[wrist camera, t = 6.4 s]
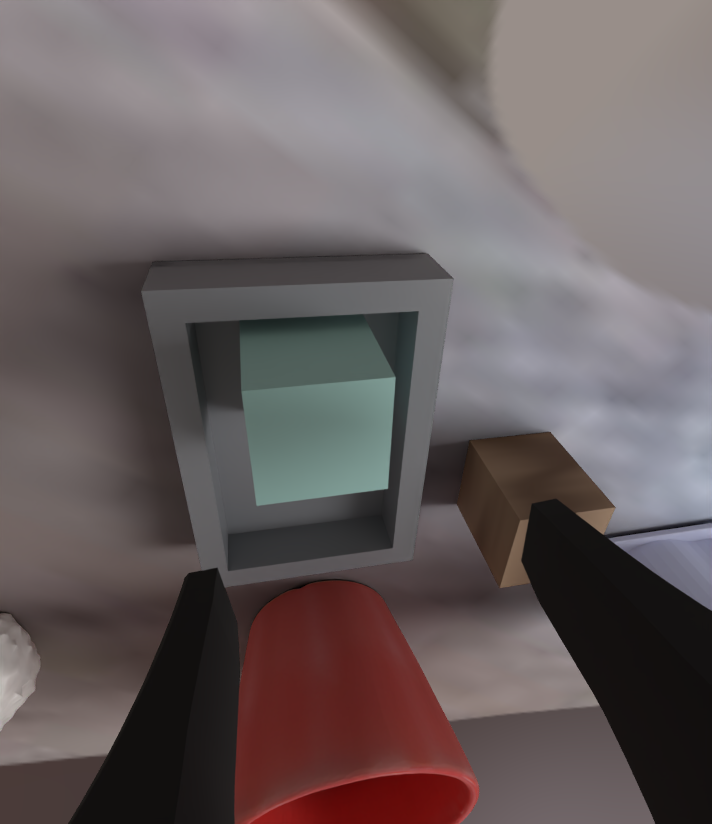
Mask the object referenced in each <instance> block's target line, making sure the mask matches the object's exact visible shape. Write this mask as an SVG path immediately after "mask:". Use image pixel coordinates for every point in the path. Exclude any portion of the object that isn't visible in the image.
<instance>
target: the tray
mask: <svg viewBox="0 0 712 824" xmlns="http://www.w3.org/2000/svg"><path fill="white" fill-rule="evenodd" d="M453 280H454V278H452V277H451V276H450V275H449V274H448V273H447V272H446V271H445V270H444V269H443V268H442V267H441V266H440V265H439V264H438V263H437V262H436V261H435V260H434V259H433V258H432V257H431V256H430V255H429V254H399V255H366V256H332V257H298V258H265V259H231V260H198V261H164V262H152V265H151V267H150V270H149V273H148V275H147V278H146V280H145V283H144V285H143V288H142V290H141V293H142V298H143V302H144V307H145V311H146V316H147V321H148V325H149V330H150V334H151V339H152V344H153V348H154V353H155V358H156V362H157V367H158V371H159V376H160V381H161V385H162V390H163V394H164V399H165V404H166V408H167V413H168V418H169V422H170V427H171V431H172V436H173V441H174V445H175V450H176V454H177V459H178V464H179V468H180V473H181V478H182V482H183V487H184V491H185V496H186V501H187V505H188V510H189V514H190V519H191V524H192V528H193V533H194V538H195V542H196V547H197V551H198V556H199V561H200V565H201V570H202V571H203V570H207V569H212V568H217V567H218V570H219V573H220V576H221V579H222V581H223V584H224V587H232V586H238V585H245V584H252V583H259V582H266V581H273V580H280V579H287V578H294V577H300V576H307V575H314V574H321V573H328V572H335V571H342V570H349V569H356V568H362V567H369V566H376V565H383V564H390V563H397V562H404V561H411V560H413V555H414V548H415V541H416V534H417V527H418V520H419V513H420V507H421V500H422V493H423V486H424V479H425V472H426V465H427V459H428V452H429V445H430V438H431V431H432V424H433V417H434V411H435V404H436V397H437V390H438V383H439V376H440V369H441V363H442V356H443V349H444V342H445V335H446V328H447V321H448V315H449V308H450V301H451V294H452V287H453ZM353 314H363V315H364V317H365V319H366V321H367V323H368V325H369V327H370V329H371V331H372V333H373V335H374V337H375V339H376V340H377V342H378V344H379V346H380V348H381V350H382V352H383V354H384V356H385V358H386V360H387V362H388V363H389V365H390V367H391V369H392V371H393V373H394V375H395V377H396V379H395V394H394V408H393V422H392V437H391V451H390V465H389V479H388V489H382V490H375V491H367V492H359V493H352V494H344V495H336V496H329V497H321V498H313V499H306V500H298V501H290V502H283V503H275V504H267V505H260V506H257V505H256V497H255V490H254V482H253V475H252V467H251V460H250V452H249V445H248V437H247V430H246V422H245V415H244V407H243V400H242V393H241V362H240V327H239V320H256V319H276V318H295V317H314V316H334V315H353Z"/></svg>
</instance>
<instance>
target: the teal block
mask: <svg viewBox="0 0 712 824" xmlns="http://www.w3.org/2000/svg"><path fill="white" fill-rule="evenodd" d="M239 327H240V362H241V393H242V400H243V407H244V415H245V422H246V430H247V437H248V445H249V452H250V460H251V467H252V475H253V482H254V490H255V497H256V505H257V506H260V505H267V504H275V503H283V502H290V501H298V500H306V499H313V498H321V497H329V496H336V495H344V494H352V493H359V492H367V491H375V490H382V489H388V479H389V465H390V451H391V437H392V422H393V408H394V394H395V379H396V377H395V375H394V373H393V371H392V369H391V367H390V365H389V363H388V362H387V360H386V358H385V356H384V354H383V352H382V350H381V348H380V346H379V344H378V342H377V340H376V339H375V337H374V335H373V333H372V331H371V329H370V327H369V325H368V323H367V321H366V319H365V317H364V315H363V314H353V315H334V316H314V317H295V318H276V319H256V320H239Z"/></svg>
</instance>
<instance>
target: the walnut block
mask: <svg viewBox="0 0 712 824" xmlns="http://www.w3.org/2000/svg"><path fill="white" fill-rule="evenodd" d="M551 499H558V500H559V501H560V502H562V503H563V504H564V505H565V506H567V507H568V508H569V509H571V510H572V511H573V512H574V513H576V514H577V515H578V516H580V517H581V518H582V519H584V520H585V521H586V522H587V523H589V524H590V525H591V526H593V527H594V528H595V529H596V530H598V531H599V532H600V533H602V534H603V535H604V532H605V530H606V528H607V526H608V523H609V521H610V519H611V517H612V514H613V512H614V510H615V508H616V507H615V506H614V505H613V504H612V503H611V502H610V500H609V499H608V498H607V497H606V496H605V495H604V493H603V492H602V491H601V490H600V489H599V488H598V487H597V485H596V484H595V483H594V482H593V481H592V480H591V478H590V477H589V476H588V475H587V474H586V473H585V472H584V470H583V469H582V468H581V467H580V466H579V465H578V463H577V462H576V461H575V460H574V459H573V458H572V457H571V455H570V454H569V453H568V452H567V451H566V450H565V448H564V447H563V446H562V445H561V444H560V443H559V442H558V440H557V439H556V438H555V437H554V436H553V435H552V434H551V432H545V433H536V434H526V435H516V436H507V437H497V438H487V439H478V440H470V441H469V446H468V451H467V456H466V461H465V466H464V471H463V476H462V481H461V486H460V491H459V496H458V501H457V506H458V508H459V510H460V512H461V514H462V515H463V517H464V519H465V521H466V523H467V525H468V527H469V529H470V531H471V533H472V535H473V537H474V539H475V541H476V543H477V545H478V547H479V549H480V551H481V553H482V555H483V557H484V559H485V560H486V562H487V564H488V566H489V568H490V570H491V572H492V574H493V576H494V578H495V580H496V582H497V584H498V586H499V588H504V587H510V586H516V585H522V584H529V583H530V580H529V578H528V576H527V573H526V571H525V569H524V566H523V564H522V562H521V558H522V553H523V548H524V542H525V537H526V531H527V526H528V521H529V515H530V510H531V505H532V503H537V502H542V501H546V500H551Z"/></svg>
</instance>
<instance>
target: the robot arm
mask: <svg viewBox="0 0 712 824" xmlns="http://www.w3.org/2000/svg"><path fill="white" fill-rule="evenodd" d="M521 562H522V564H523V566H524V569H525V571H526V573H527V576H528V578H529V580H530V583H531V585H532V587H533V589H534V591H535V594H536V596H537V598H538V600H539V602H540V604H541V606H542V607H543V609H544V611H545V613H546V614H547V616H548V618H549V620H550V621H551V623H552V625H553V626H554V628H555V630H556V631H557V633H558V635H559V637H560V638H561V640H562V642H563V643H564V645H565V647H566V648H567V650H568V652H569V653H570V655H571V657H572V658H573V660H574V662H575V663H576V665H577V667H578V668H579V670H580V672H581V674H582V675H583V677H584V679H585V680H586V682H587V684H588V685H589V687H590V689H591V690H592V692H593V694H594V696H595V697H596V699H597V701H598V703H599V705H600V707H601V708H602V710H603V712H604V714H605V716H606V718H607V720H608V722H609V724H610V726H611V728H612V730H613V732H614V734H615V736H616V739H617V741H618V742H619V745H620V747H621V749H622V751H623V753H624V755H625V757H626V759H627V762H628V764H629V766H630V768H631V770H632V772H633V775H634V777H635V779H636V781H637V783H638V786H639V788H640V790H641V792H642V794H643V796H644V799H645V801H646V803H647V805H648V807H649V810H650V812H651V814H652V817H653V819H654V821H655V824H712V523H707V524H701V525H694V526H687V527H680V528H674V529H667V530H660V531H653V532H647V533H640V534H633V535H626V536H620V537H613V538H607V537H606V536H604V535H603V534H602V533H600V532H599V531H598V530H596V529H595V528H594V527H593V526H591V525H590V524H589V523H587V522H586V521H585V520H584V519H582V518H581V517H580V516H578V515H577V514H576V513H574V512H573V511H572V510H571V509H569V508H568V507H567V506H565V505H564V504H563V503H562V502H560V501H559V500H558V499H551V500H546V501H542V502H537V503H532V505H531V510H530V515H529V521H528V526H527V531H526V537H525V542H524V548H523V553H522V558H521ZM239 683H240V661H239V642H238V627H237V620H236V618H235V615H234V612H233V609H232V606H231V604H230V601H229V598H228V595H227V592H226V590H225V587H224V584H223V581H222V579H221V576H220V573H219V570H218V567H217V568H212V569H207V570H203V571H198V572H193V573H189V574H188V575H187V576H186V577H185V579H184V582H183V585H182V588H181V591H180V594H179V597H178V600H177V602H176V605H175V608H174V611H173V613H172V616H171V619H170V621H169V624H168V626H167V629H166V631H165V634H164V636H163V639H162V641H161V644H160V646H159V648H158V651H157V653H156V655H155V658H154V660H153V662H152V665H151V667H150V669H149V672H148V674H147V676H146V678H145V681H144V683H143V685H142V687H141V689H140V691H139V693H138V696H137V698H136V700H135V702H134V704H133V706H132V708H131V710H130V712H129V714H128V716H127V718H126V720H125V722H124V724H123V726H122V728H121V730H120V732H119V734H118V736H117V738H116V740H115V742H114V744H113V746H112V748H111V750H110V752H109V753H108V755H107V757H106V759H105V761H104V763H103V765H102V766H101V768H100V770H99V772H98V774H97V775H96V777H95V779H94V781H93V783H92V784H91V786H90V788H89V789H88V791H87V793H86V795H85V797H84V798H83V800H82V802H81V803H80V805H79V807H78V808H77V810H76V812H75V813H74V815H73V817H72V818H71V820H70V822H69V823H68V824H235V815H234V802H235V769H236V748H237V727H238V706H239Z"/></svg>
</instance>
